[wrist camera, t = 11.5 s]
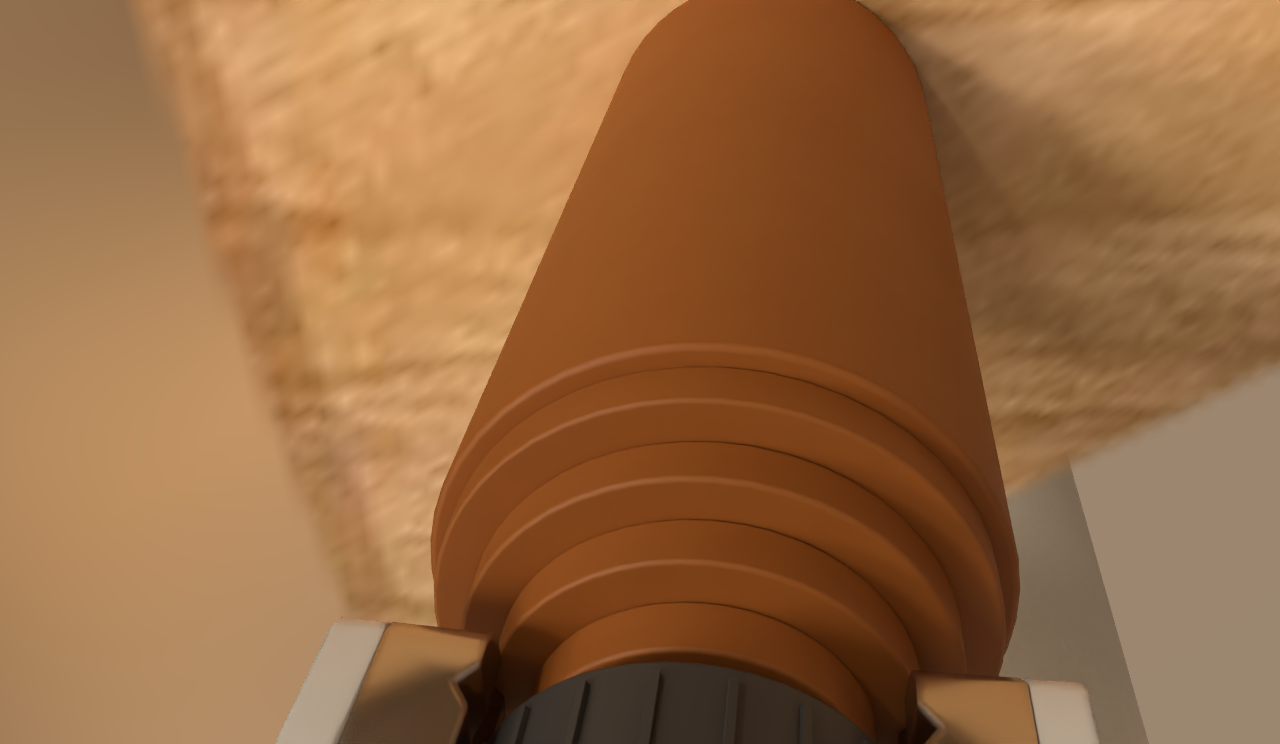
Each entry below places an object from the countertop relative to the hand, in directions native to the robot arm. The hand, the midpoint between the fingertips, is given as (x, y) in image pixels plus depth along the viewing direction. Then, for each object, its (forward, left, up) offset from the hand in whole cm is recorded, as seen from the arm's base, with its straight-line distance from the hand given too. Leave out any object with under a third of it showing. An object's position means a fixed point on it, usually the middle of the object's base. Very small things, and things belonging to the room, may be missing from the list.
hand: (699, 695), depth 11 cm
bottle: (-1, 0, -16) cm, 16 cm away
